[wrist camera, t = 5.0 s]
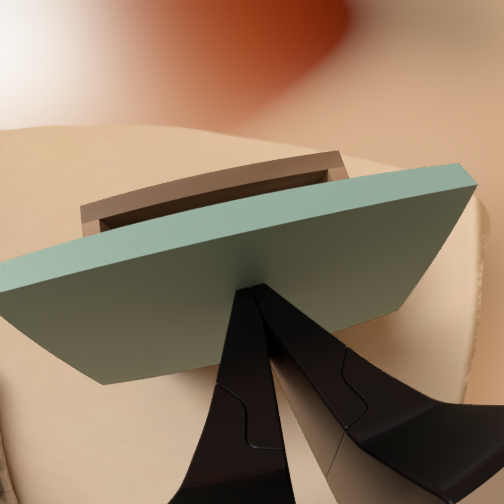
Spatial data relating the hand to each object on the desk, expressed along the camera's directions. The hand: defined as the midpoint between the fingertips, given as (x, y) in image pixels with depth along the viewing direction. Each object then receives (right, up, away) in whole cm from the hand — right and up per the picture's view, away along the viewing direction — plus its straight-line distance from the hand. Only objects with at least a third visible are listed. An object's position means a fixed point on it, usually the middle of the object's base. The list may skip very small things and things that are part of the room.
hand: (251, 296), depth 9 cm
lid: (0, 0, +2) cm, 2 cm away
